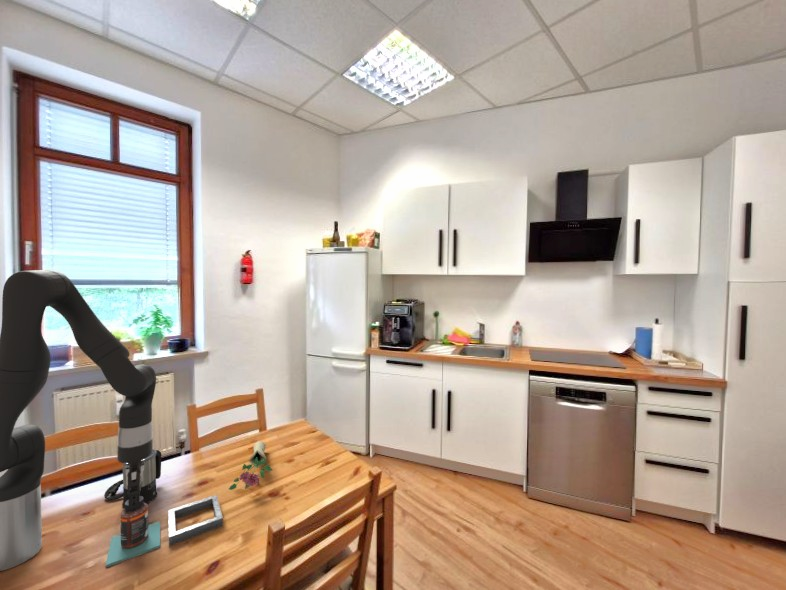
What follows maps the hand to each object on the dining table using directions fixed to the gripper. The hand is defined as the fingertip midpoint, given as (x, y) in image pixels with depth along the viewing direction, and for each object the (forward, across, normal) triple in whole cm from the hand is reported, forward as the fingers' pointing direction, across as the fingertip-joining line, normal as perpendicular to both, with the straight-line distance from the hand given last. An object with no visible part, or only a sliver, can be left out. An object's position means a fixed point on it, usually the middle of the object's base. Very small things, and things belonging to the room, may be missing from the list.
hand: (134, 497), depth 89 cm
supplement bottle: (+12, -1, 0) cm, 12 cm away
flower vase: (+12, +14, -35) cm, 40 cm away
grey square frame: (+12, -1, -14) cm, 19 cm away
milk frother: (+13, +24, +2) cm, 28 cm away
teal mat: (+12, -1, 0) cm, 12 cm away
